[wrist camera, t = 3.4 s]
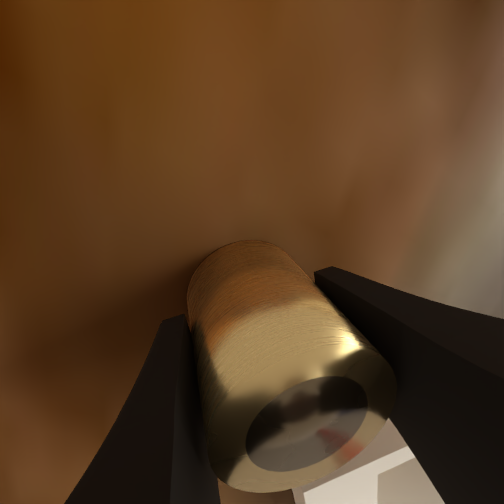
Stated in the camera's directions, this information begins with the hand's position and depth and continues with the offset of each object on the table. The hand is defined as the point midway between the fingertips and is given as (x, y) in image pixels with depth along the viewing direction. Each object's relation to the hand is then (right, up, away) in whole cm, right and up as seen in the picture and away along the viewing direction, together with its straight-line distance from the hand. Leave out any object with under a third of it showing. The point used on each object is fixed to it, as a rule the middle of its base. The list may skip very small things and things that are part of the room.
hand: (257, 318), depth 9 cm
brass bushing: (0, +1, +1) cm, 1 cm away
